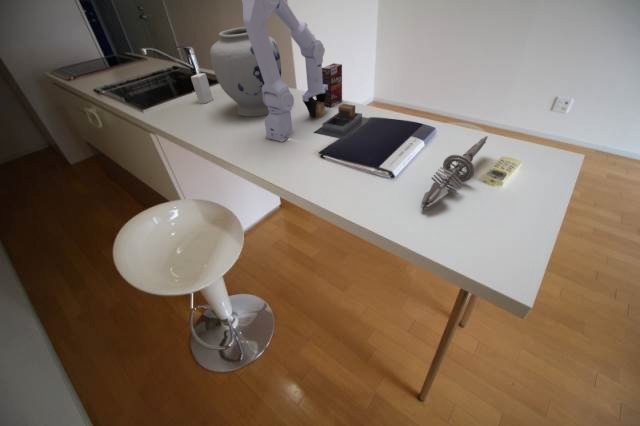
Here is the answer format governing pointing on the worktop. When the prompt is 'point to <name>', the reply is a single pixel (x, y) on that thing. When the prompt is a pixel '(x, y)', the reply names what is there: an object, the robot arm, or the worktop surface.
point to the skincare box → (202, 88)
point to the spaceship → (451, 175)
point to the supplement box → (333, 84)
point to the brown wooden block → (346, 111)
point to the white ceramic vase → (241, 70)
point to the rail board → (341, 126)
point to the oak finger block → (319, 109)
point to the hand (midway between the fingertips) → (317, 113)
